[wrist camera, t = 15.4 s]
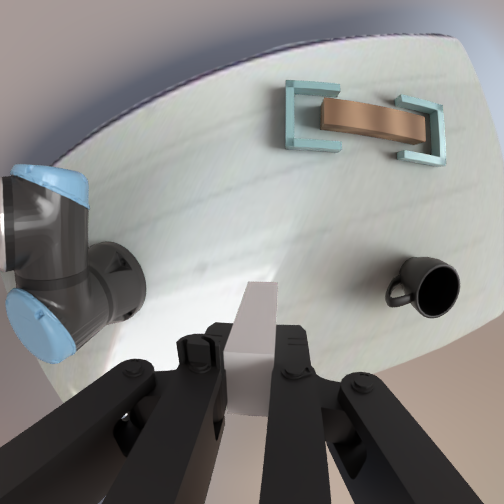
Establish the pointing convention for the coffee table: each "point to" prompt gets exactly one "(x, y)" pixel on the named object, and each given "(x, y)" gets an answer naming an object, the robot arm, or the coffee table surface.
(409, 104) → the cap
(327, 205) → the coffee table surface
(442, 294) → the mug
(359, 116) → the slat
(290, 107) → the teal staple arch
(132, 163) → the coffee table surface
